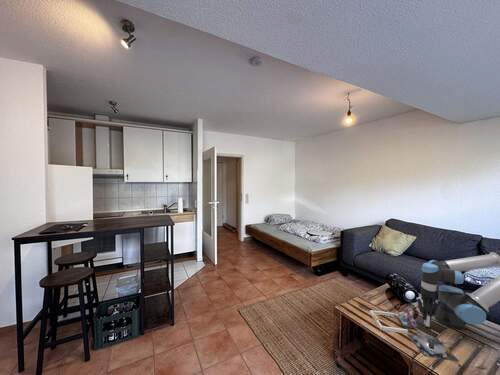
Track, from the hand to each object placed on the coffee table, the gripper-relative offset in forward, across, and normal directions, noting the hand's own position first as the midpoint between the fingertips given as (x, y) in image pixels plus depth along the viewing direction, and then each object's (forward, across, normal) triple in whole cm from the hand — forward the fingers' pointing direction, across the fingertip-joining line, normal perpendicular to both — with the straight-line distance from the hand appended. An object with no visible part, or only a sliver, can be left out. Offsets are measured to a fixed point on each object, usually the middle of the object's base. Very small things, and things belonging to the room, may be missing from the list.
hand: (426, 325), depth 128 cm
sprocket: (+2, +8, +17) cm, 19 cm away
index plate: (+2, +8, +17) cm, 19 cm away
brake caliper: (+3, +10, -2) cm, 11 cm away
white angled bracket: (+3, +22, 0) cm, 22 cm away
